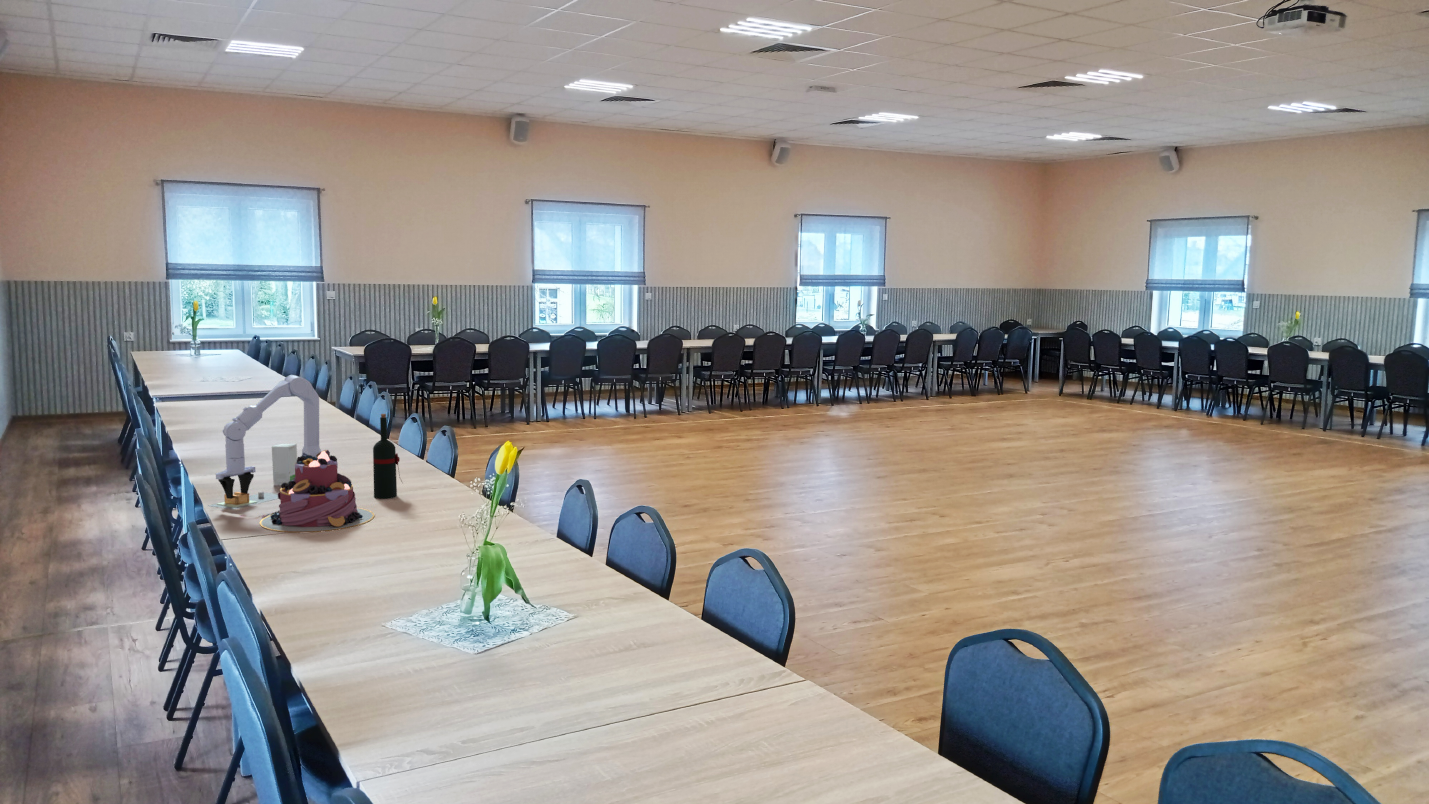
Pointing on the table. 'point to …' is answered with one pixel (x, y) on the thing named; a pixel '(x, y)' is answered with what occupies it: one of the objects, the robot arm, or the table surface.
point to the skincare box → (283, 463)
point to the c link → (237, 498)
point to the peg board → (253, 500)
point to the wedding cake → (316, 499)
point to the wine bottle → (385, 465)
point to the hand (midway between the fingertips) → (237, 496)
